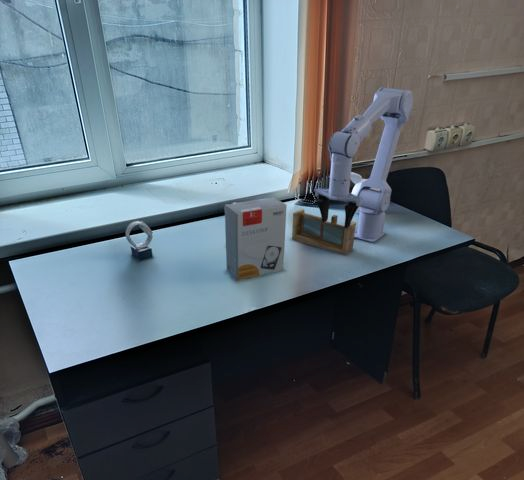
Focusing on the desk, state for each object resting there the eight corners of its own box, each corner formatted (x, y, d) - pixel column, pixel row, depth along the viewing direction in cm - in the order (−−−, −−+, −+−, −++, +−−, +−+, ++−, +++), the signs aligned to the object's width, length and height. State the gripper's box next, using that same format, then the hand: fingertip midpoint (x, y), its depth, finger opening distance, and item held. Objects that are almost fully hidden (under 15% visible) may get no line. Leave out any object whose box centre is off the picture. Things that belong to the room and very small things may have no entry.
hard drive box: (236, 282, 136) (234, 213, 124) (225, 271, 141) (222, 204, 130) (284, 270, 142) (287, 204, 130) (272, 260, 147) (273, 195, 135)
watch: (158, 255, 150) (154, 221, 143) (134, 262, 146) (128, 228, 139) (150, 249, 153) (145, 216, 147) (126, 256, 149) (120, 222, 143)
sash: (321, 240, 156) (323, 212, 151) (345, 246, 152) (348, 218, 147) (318, 241, 155) (320, 213, 149) (342, 248, 151) (345, 220, 145)
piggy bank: (375, 207, 184) (380, 167, 176) (382, 219, 175) (389, 177, 166) (343, 208, 184) (347, 167, 175) (349, 219, 174) (353, 177, 166)
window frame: (300, 234, 163) (301, 208, 158) (352, 249, 154) (356, 222, 149) (291, 239, 160) (293, 213, 155) (345, 255, 151) (348, 227, 145)
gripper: (310, 177, 137) (308, 222, 145) (356, 186, 130) (351, 234, 139) (323, 171, 142) (320, 215, 150) (368, 180, 135) (362, 226, 143)
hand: (335, 224), depth 145 cm, fingers open, 7 cm apart
